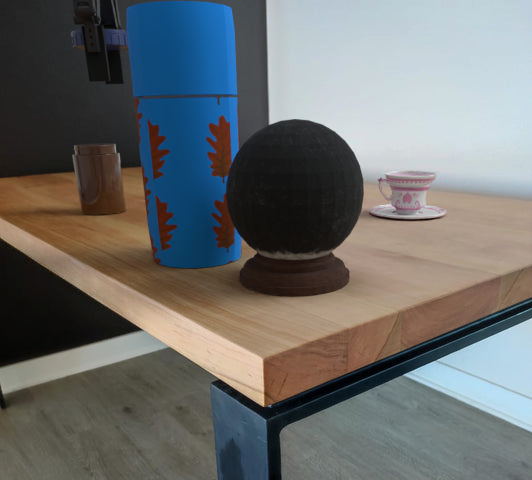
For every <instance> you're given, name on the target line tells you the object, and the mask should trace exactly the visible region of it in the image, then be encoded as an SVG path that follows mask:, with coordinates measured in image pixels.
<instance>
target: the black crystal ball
mask: <svg viewBox="0 0 532 480" xmlns="http://www.w3.org/2000/svg"><path fill="white" fill-rule="evenodd" d="M364 195H365V189H364V177H363V173H362V167H361V165H360V162H359V160H358V158H357V156H356V154H355V152H354V151H353V149H352V148H351V146H350V145H349V143H348V142H347V141H346V140H345V139H344V138H343V137H342V136H341V135H340V134H338V132H337V131H335V130H333V129H331V128H330V127H328V126H326V125H324V124H323V123H319V122H316V121H314V120H313V121H312V120H309V119H302V118H301V119H300V118H292V119H283V120H279V121H276V122H273V123H269V124H267V125H266V126H264V127H262V128H260V129H259V130H257V131H255V132H254V133H253V134H252V135H251V136H250V137H249V138H248V139H246V140H245V141H244V143H243V144H242V145H241V147H239V151H238V152H237V154H236V156H235V158H234V160H233V162H232V164H231V167H230V170H229V174H228V178H227V183H226V201H227V208H228V212H229V215H230V218H231V221H232V223H233V225H234V227H235V229H236V230H237V232H238V234H239V235H240V236H241V237H242V240H243V241H244V243H246V244H247V245H248V247H249V248H251V249H252V250H254V251H255V252H256V253H255V254H254V255H253V256H252V257H250V258H249V259H247V260H246V261H245V262H244V264H243V267H242V268H241V269H240V270H239V274H238V275H239V283H240V285H241V286H243V287H244V288H245V289H248V290H250V291H254V292H256V293H260V294H266V295H270V296H281V297H282V296H283V297H284V296H285V297H306V296H317V295H322V294H327V293H331V292H336V291H338V290H341V289H342V288H344V287H346V286H347V285H348V284H349V283H350V270H349V268H348V267H346V263H345V262H344V261H343V259H341V258H339V257H338V256H336V255H335V254H334V253H333V251H334V250H336V249H338V247H340V246H341V245H342V244H343V243H344V242H345V241H346V240H347V239H348V237H349V236H350V235H351V233H352V232H353V230H354V228H355V226H356V225H357V223H358V221H359V217H360V215H361V212H362V210H363V203H364Z"/></svg>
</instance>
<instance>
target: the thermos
mask: <svg viewBox="0 0 532 480" xmlns="http://www.w3.org/2000/svg"><path fill="white" fill-rule="evenodd" d="M125 11H126V13H125V15H126V17H125V18H126V19H125V20H126V31H127V39H128V48H129V49H128V57H129V65H130V75H131V83H132V84H131V85H132V93H133V97H134V98H135V99H133V102H134V111H135V121H136V130H137V138H138V148H139V156H140V157H139V158H140V165H141V166H140V167H141V176H142V186H143V192H144V193H143V194H144V202H145V203H144V204H145V211H146V221H147V229H148V234H149V240H150V241H149V242H150V247H151V253H152V259H153V261H154V263H156V264H159V265H160V266H164V267H170V268H175V269H177V268H178V269H201V268H202V269H203V268H213V267H219V266H225V265H226V264H227V265H228V264H231V263H233V262H236V261H238V260H239V259H240V258H241V257H242V242H243V241H242V240H243V239H242V237H241V236H240V235H239V234H238V232H237V230H236V229H235V227H234V225H233V223H232V221H231V218H230V215H229V212H228V208H227V201H226V183H227V178H228V174H229V170H230V167H231V164H232V162H233V160H234V158H235V156H236V154H237V152H238V151H239V149H240V136H239V135H240V134H239V132H240V131H239V108H238V97H235V96H237V95H238V81H237V79H238V78H237V56H236V30H235V24H234V23H235V22H234V16H233V9H232V7H231V6H228V5H225V4H223V3H216V2H211V1H210V2H209V1H199V0H198V1H196V0H163V1H162V0H161V1H148V2H142V3H137V4H133V5H130V6H128V7H127V8H126V10H125ZM230 96H231V97H230ZM233 96H234V97H233Z"/></svg>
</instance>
